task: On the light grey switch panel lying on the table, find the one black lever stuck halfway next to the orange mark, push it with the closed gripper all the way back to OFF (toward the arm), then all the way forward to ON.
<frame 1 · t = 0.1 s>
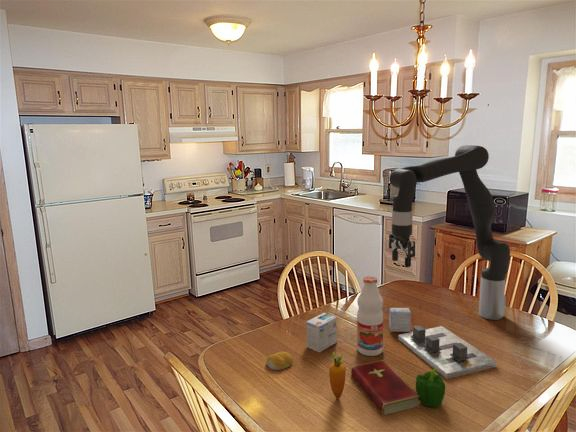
hand: (401, 263, 157), 29 cm above the table, tool pointing down, fingers open, 8 cm apart
switch panel: (443, 352, 148), on the table
carrot: (337, 399, 124), on the table
medicine box: (399, 330, 167), on the table
bread roll: (279, 364, 145), on the table
lever middle: (432, 343, 146), point 5 cm above the table, slide at 5.0 cm
bell pepper: (430, 403, 121), on the table
fruit juice: (369, 350, 152), on the table
light bulb box: (322, 345, 157), on the table
lever right: (419, 333, 153), point 5 cm above the table, slide at 5.0 cm
tripped lever: (459, 351, 140), point 5 cm above the table, slide at 0.0 cm
hardcover book: (383, 392, 128), on the table
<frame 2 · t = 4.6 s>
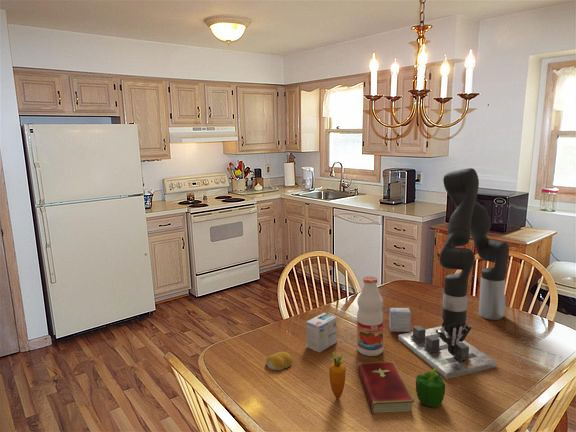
hand: (452, 353, 139), 4 cm above the table, tool pointing down, fingers closed
tripped lever: (461, 351, 140), point 5 cm above the table, slide at -0.7 cm, touching gripper
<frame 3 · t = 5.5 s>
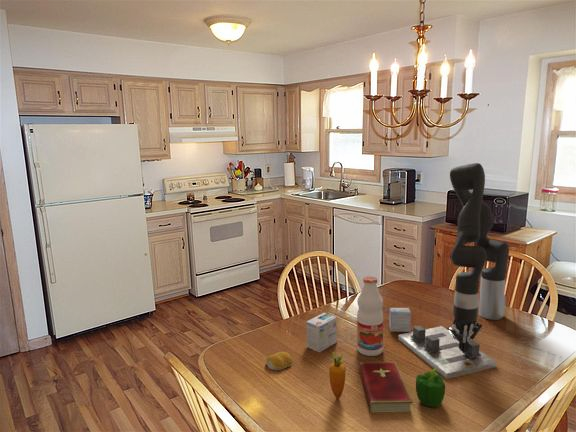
hand: (463, 350, 141), 4 cm above the table, tool pointing down, fingers closed
tripped lever: (472, 348, 141), point 5 cm above the table, slide at -5.1 cm, touching gripper
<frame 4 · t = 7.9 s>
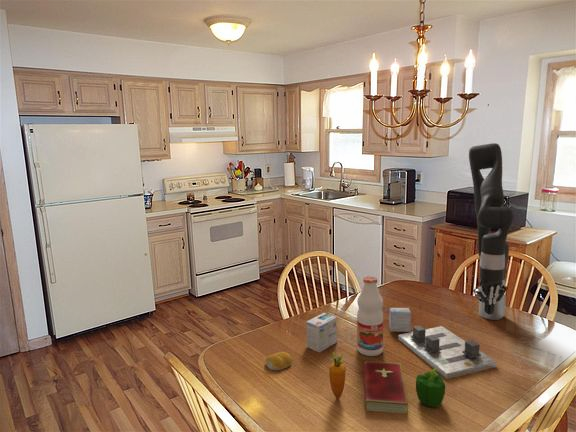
hand: (488, 313, 141), 17 cm above the table, tool pointing down, fingers closed
tripped lever: (471, 348, 141), point 5 cm above the table, slide at -5.1 cm
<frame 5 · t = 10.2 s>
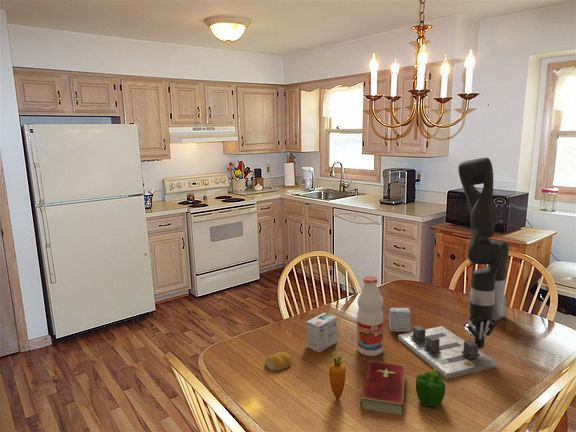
hand: (479, 347, 142), 5 cm above the table, tool pointing down, fingers closed
tripped lever: (470, 348, 141), point 5 cm above the table, slide at -4.6 cm, touching gripper
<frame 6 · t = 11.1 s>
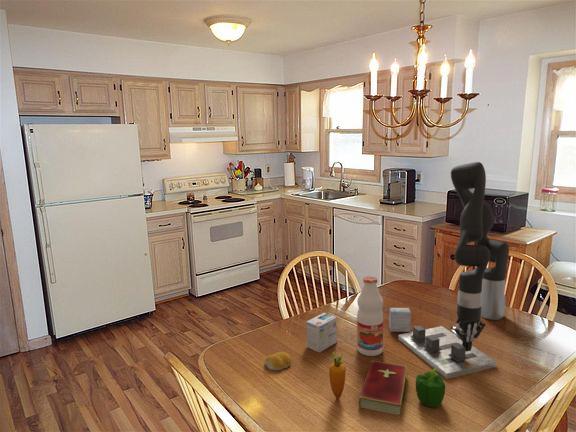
hand: (466, 350, 141), 5 cm above the table, tool pointing down, fingers closed
tripped lever: (458, 351, 140), point 5 cm above the table, slide at 0.6 cm, touching gripper
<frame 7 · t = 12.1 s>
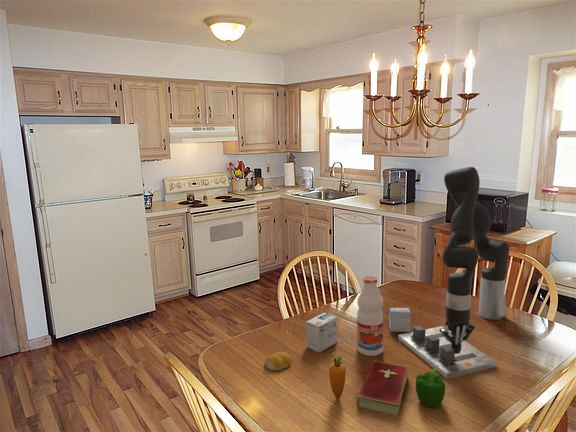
hand: (456, 352, 139), 5 cm above the table, tool pointing down, fingers closed
tripped lever: (447, 354, 138), point 5 cm above the table, slide at 5.1 cm, touching gripper
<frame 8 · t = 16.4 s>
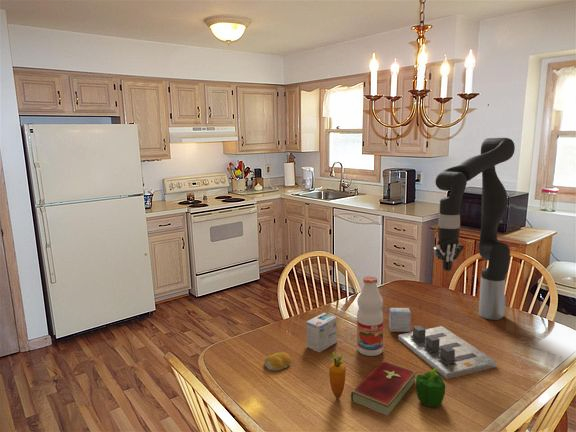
hand: (447, 270, 155), 27 cm above the table, tool pointing down, fingers closed
tripped lever: (447, 354, 138), point 5 cm above the table, slide at 5.1 cm
at the end: tripped lever slide at 5.1 cm; lever middle slide at 5.0 cm; lever right slide at 5.0 cm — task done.
